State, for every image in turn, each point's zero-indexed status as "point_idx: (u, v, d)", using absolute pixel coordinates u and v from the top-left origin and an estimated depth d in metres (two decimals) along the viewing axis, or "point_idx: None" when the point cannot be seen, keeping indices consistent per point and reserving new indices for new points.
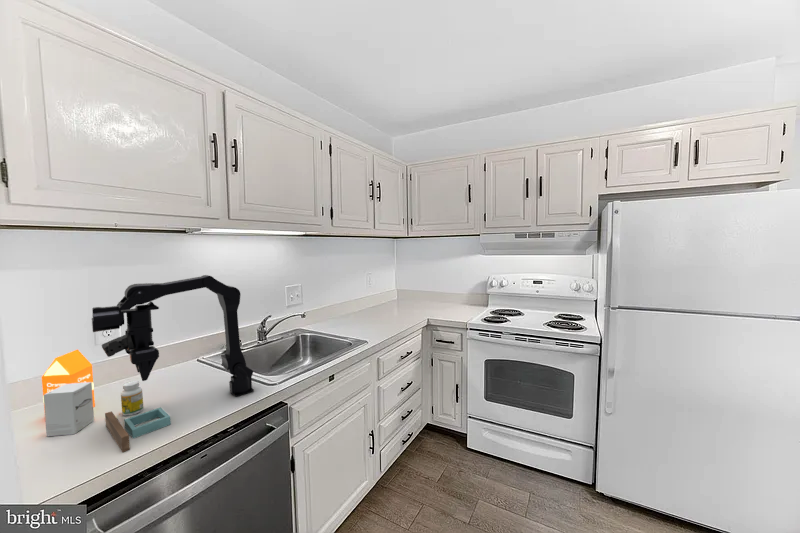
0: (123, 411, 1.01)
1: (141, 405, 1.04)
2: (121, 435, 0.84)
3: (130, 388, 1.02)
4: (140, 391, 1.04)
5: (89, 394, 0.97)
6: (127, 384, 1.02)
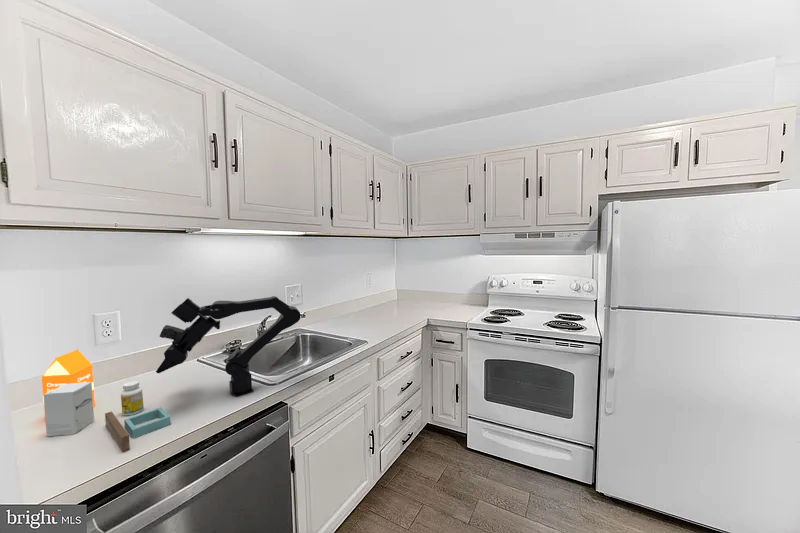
0: (123, 411, 1.01)
1: (141, 405, 1.04)
2: (121, 435, 0.84)
3: (130, 388, 1.02)
4: (140, 391, 1.04)
5: (89, 394, 0.97)
6: (127, 384, 1.02)
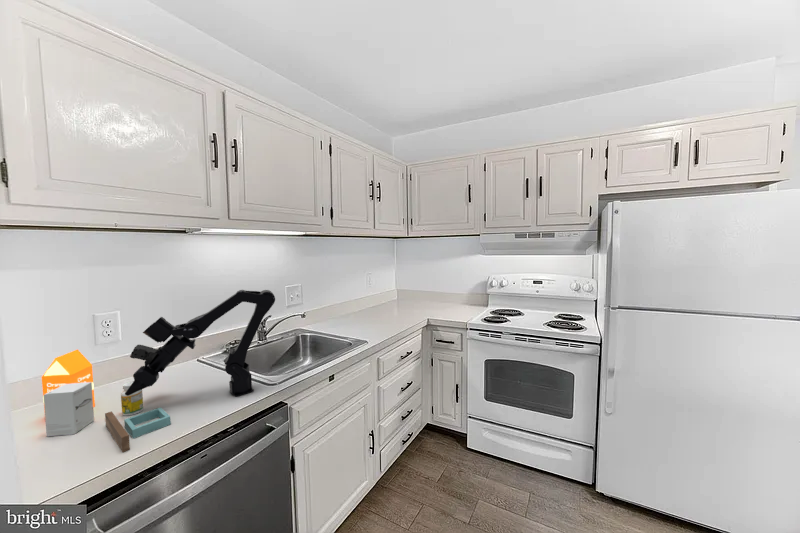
0: (123, 411, 1.01)
1: (141, 405, 1.04)
2: (121, 435, 0.84)
3: None
4: (140, 391, 1.04)
5: (89, 394, 0.97)
6: (127, 384, 1.02)
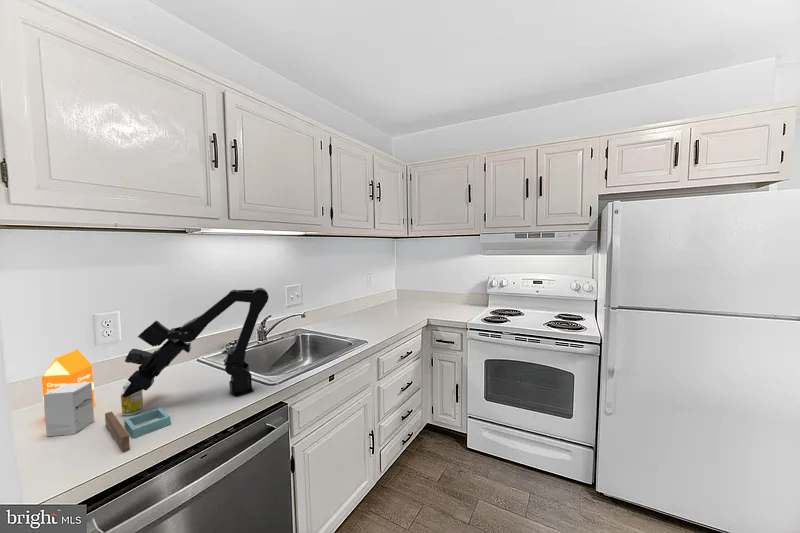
0: (123, 411, 1.01)
1: (141, 405, 1.04)
2: (121, 435, 0.84)
3: None
4: (140, 391, 1.04)
5: (89, 394, 0.97)
6: (127, 384, 1.02)
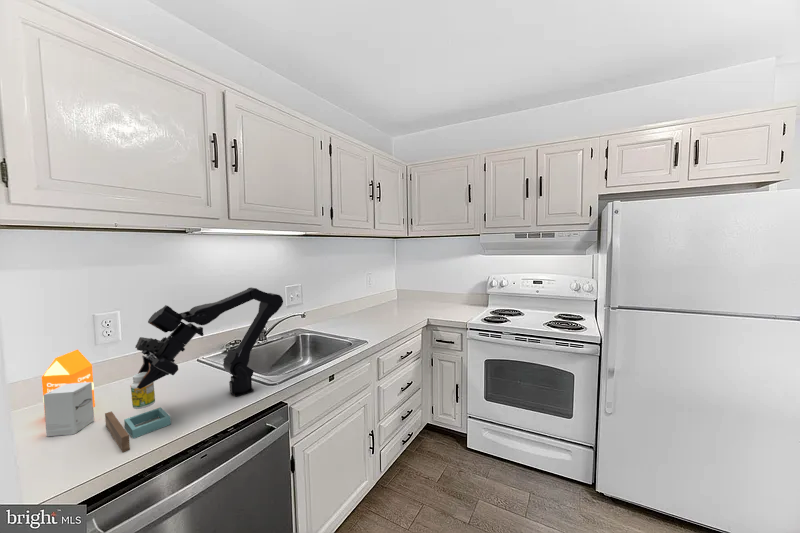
0: (137, 404, 0.93)
1: (154, 396, 0.97)
2: (121, 435, 0.84)
3: None
4: None
5: (89, 394, 0.97)
6: (138, 375, 0.94)
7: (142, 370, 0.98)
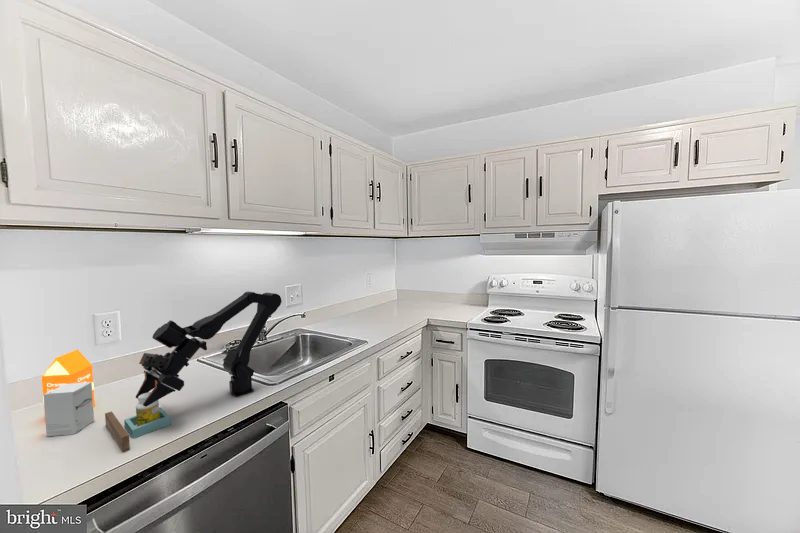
0: None
1: (159, 416, 0.97)
2: (121, 435, 0.84)
3: None
4: (158, 402, 0.97)
5: (89, 394, 0.97)
6: (143, 396, 0.94)
7: (144, 385, 0.98)
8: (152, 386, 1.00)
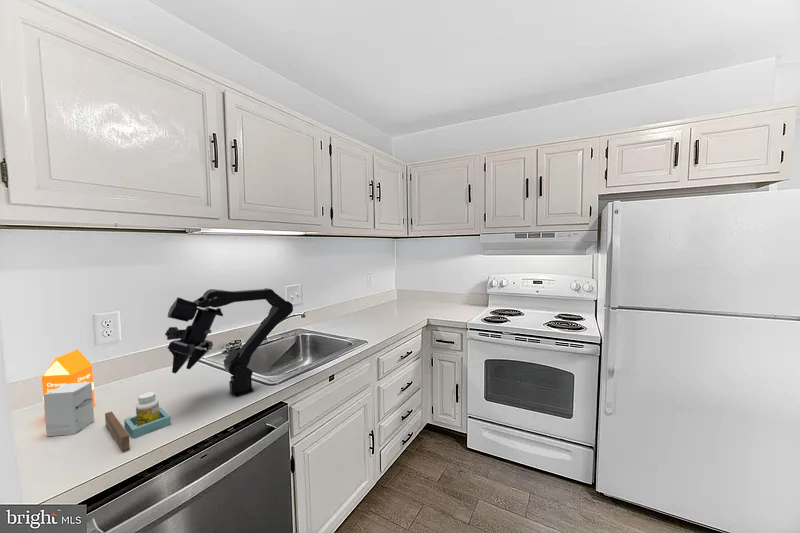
0: None
1: (159, 416, 0.97)
2: (121, 435, 0.84)
3: (150, 399, 0.94)
4: (158, 401, 0.97)
5: (89, 394, 0.97)
6: (143, 396, 0.94)
7: (190, 357, 1.10)
8: (197, 357, 1.10)
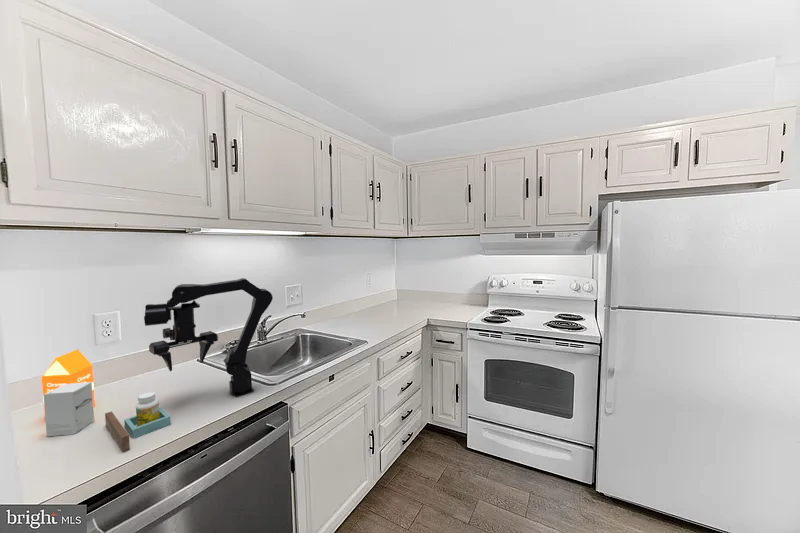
0: None
1: (159, 416, 0.97)
2: (121, 435, 0.84)
3: (150, 399, 0.94)
4: (158, 402, 0.97)
5: (89, 394, 0.97)
6: (143, 396, 0.94)
7: (200, 352, 1.12)
8: (203, 351, 1.11)
